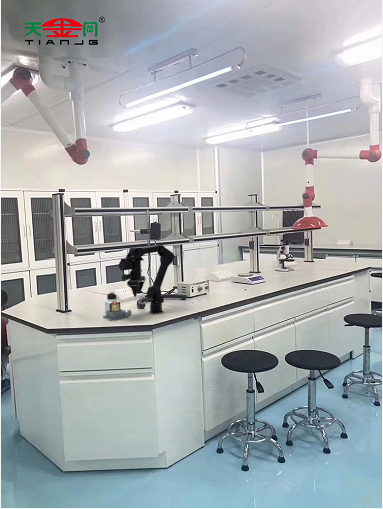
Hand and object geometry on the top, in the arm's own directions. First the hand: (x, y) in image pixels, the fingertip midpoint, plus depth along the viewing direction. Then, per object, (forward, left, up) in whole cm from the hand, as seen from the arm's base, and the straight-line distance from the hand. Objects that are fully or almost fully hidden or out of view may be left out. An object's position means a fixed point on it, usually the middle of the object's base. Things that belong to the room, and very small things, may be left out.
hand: (137, 295), depth 238 cm
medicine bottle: (+6, -21, -13) cm, 26 cm away
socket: (+9, -7, -13) cm, 17 cm away
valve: (+11, -7, -12) cm, 18 cm away
